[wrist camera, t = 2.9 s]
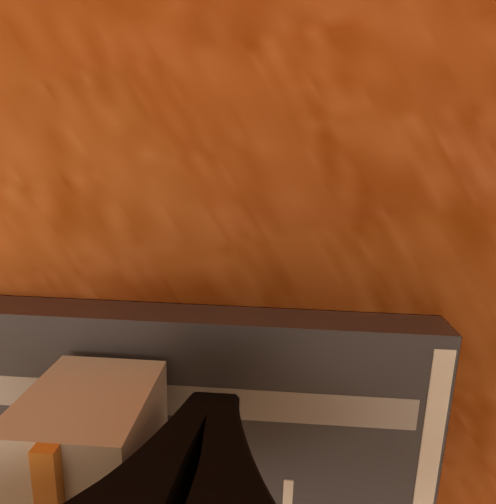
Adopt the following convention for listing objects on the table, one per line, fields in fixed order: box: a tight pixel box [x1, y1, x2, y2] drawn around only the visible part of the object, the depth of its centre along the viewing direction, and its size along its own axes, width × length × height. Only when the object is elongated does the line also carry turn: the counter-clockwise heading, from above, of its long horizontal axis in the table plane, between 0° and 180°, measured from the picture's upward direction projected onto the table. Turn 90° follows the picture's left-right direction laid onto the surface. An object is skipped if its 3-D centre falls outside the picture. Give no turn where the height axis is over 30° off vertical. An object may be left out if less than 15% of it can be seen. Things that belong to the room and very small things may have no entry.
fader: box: [0, 355, 168, 504], centre depth 11 cm, size 3×3×4 cm
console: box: [0, 295, 462, 504], centre depth 14 cm, size 17×12×2 cm
